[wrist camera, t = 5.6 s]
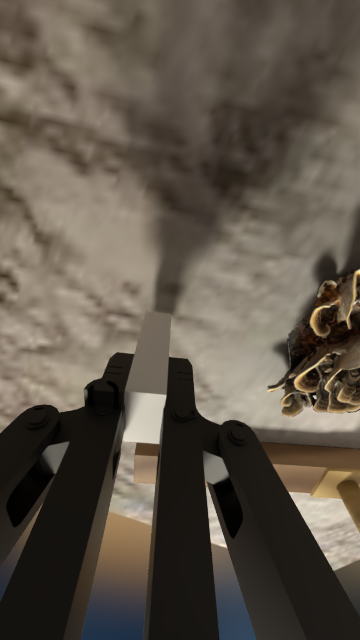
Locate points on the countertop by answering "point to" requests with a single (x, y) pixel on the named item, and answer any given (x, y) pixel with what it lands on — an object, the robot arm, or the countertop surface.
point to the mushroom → (326, 352)
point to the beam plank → (290, 470)
